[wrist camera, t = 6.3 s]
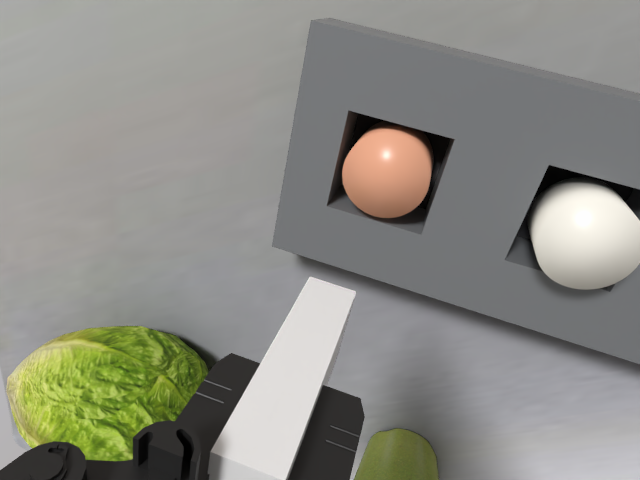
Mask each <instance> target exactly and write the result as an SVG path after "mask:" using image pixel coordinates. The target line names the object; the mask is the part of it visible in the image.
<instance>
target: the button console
mask: <svg viewBox="0 0 640 480" xmlns="http://www.w3.org/2000/svg"><path fill="white" fill-rule="evenodd" d="M358 113H360V114H363V115H367V116H371V117H374V118H378V119H382V120H385V121H389V122H393V123H397V124H400V125H404V126H408V127H411V128H415V129H419V130H422V131H426V132H430V133H433V134H437V135H441V136H444V137H448V138H450V141H449V144H448V147H447V150H446V153H445V156H444V159H443V161H442V164H441V167H440V170H439V173H438V176H437V179H436V182H435V185H434V187H433V190H432V193H431V196H430V199H429V202H428V205H427V208H426V210H425V209H422V208H419V207H416V208H415V209H414V210H412V211H411V212H409V213H407V214H405V215H402V216H399V217H395V218H380V217H375V216H372V215H369V214H367V213H365V212H364V211H362V210H361V209H359V208H358V207H357V206H356V205H355V204H354V203H353V202H352V201H351V200H350V198H349V197H348V195H347V193H346V191H345V188H344V185H341V183H342V170H343V165H344V162H345V159H346V157H347V155H348V153H349V150H350V145H351V141H352V137H353V133H354V129H355V125H356V120H357V116H358ZM549 165H551V166H555V167H559V168H562V169H566V170H570V171H573V172H577V173H581V174H585V175H588V176H592V177H596V178H599V179H603V180H607V181H610V182H614V183H618V184H621V185H625V186H629V187H632V188H634V189H633V191H632V193H631V195H630V196H629V198H628V200H627V202H626V204H627V206H628V207H629V208H630V209H631V210H632V212H633V213H634V214H635V215H636V217H637V218H638V219H639V220H640V94H638V93H634V92H630V91H626V90H622V89H618V88H614V87H610V86H605V85H601V84H597V83H593V82H589V81H585V80H581V79H577V78H573V77H569V76H564V75H560V74H556V73H552V72H548V71H544V70H540V69H536V68H532V67H528V66H524V65H519V64H515V63H511V62H507V61H503V60H499V59H495V58H491V57H487V56H483V55H478V54H474V53H470V52H466V51H462V50H458V49H454V48H450V47H446V46H442V45H437V44H433V43H429V42H425V41H421V40H417V39H413V38H409V37H405V36H401V35H397V34H392V33H388V32H384V31H380V30H376V29H372V28H368V27H364V26H360V25H356V24H351V23H347V22H343V21H339V20H335V19H331V18H327V19H318V20H311V23H310V29H309V35H308V41H307V46H306V52H305V58H304V64H303V69H302V75H301V81H300V87H299V93H298V98H297V104H296V110H295V116H294V122H293V127H292V133H291V139H290V145H289V151H288V156H287V162H286V168H285V174H284V180H283V185H282V191H281V197H280V203H279V209H278V214H277V220H276V226H275V232H274V237H273V243H272V246H273V247H276V248H279V249H282V250H285V251H288V252H291V253H294V254H298V255H301V256H304V257H307V258H310V259H313V260H316V261H319V262H323V263H326V264H329V265H332V266H335V267H338V268H341V269H344V270H347V271H351V272H354V273H357V274H360V275H363V276H366V277H369V278H372V279H375V280H379V281H382V282H385V283H388V284H391V285H394V286H397V287H400V288H403V289H407V290H410V291H413V292H416V293H419V294H422V295H425V296H428V297H432V298H435V299H438V300H441V301H444V302H447V303H450V304H453V305H456V306H460V307H463V308H466V309H469V310H472V311H475V312H478V313H481V314H484V315H488V316H491V317H494V318H497V319H500V320H503V321H506V322H509V323H512V324H516V325H519V326H522V327H525V328H528V329H531V330H534V331H537V332H541V333H544V334H547V335H550V336H553V337H556V338H559V339H562V340H565V341H569V342H572V343H575V344H578V345H581V346H584V347H587V348H590V349H593V350H597V351H600V352H603V353H606V354H609V355H612V356H615V357H618V358H621V359H625V360H628V361H631V362H634V363H637V364H640V264H639V265H638V266H637V268H636V269H635V270H634V271H633V272H632V273H631V274H629V275H628V276H627V277H625V278H624V279H622V280H621V281H619V282H617V283H615V284H612V285H610V286H607V287H603V288H598V289H589V290H584V289H574V288H570V287H566V286H563V285H561V284H559V283H557V282H555V281H553V280H552V279H550V278H549V277H548V276H547V275H546V274H545V273H544V272H543V270H542V269H541V267H540V266H539V263H538V261H537V258H536V254H535V251H534V247H533V244H532V241H530V240H527V239H524V238H520V237H517V236H516V234H517V232H518V230H519V228H520V226H521V224H522V221H523V219H524V217H525V215H526V213H527V211H528V209H529V206H530V204H531V202H532V200H533V198H534V196H535V194H536V191H537V189H538V187H539V185H540V183H541V181H542V179H543V176H544V174H545V172H546V170H547V168H548V166H549Z"/></svg>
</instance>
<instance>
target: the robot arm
mask: <svg viewBox="0 0 640 480" xmlns="http://www.w3.org/2000/svg"><path fill="white" fill-rule="evenodd" d="M355 295H356V291H353V290H350V289H346V288H343V287H340V286H337V285H334V284H331V283H328V282H325V281H322V280H319V279H316V278H313V277H309V279H308V281H307V282H306V284H305V286H304V288H303V289H302V291H301V293H300V295H299V296H298V298H297V300H296V302H295V303H294V305H293V307H292V309H291V311H290V312H289V314H288V316H287V318H286V319H285V321H284V323H283V325H282V326H281V328H280V330H279V332H278V333H277V335H276V337H275V339H274V340H273V342H272V344H271V346H270V348H269V349H268V351H267V353H266V355H265V356H264V358H263V360H262V362H261V363H257V362H255V361H252V360H249V359H246V358H244V357H241V356H238V355H235V354H233V353H231V354H229V355H228V356H226V357H224V358H223V359H221V360H220V361H218V362H217V363H215V364H214V366H213V367H212V369H211V370H210V372H209V373H208V374H207V376H206V377H205V379H204V381H203V382H202V383H201V384H200V386H199V387H198V389H197V390H196V393H195V394H194V395H193V396H192V397H191V399H190V400H189V402H188V403H187V405H186V406H185V408H184V409H183V410H182V412H181V413H180V415H179V416H178V418H177V419H176V421H171V420H168V421H161V422H155V423H153V424H151V425H149V426H146V427H144V428H143V429H142V430H140V431H139V432H138V433H137V434H136V435H135V436H134V437H133V459H131V460H127V461H102V460H86V459H85V455H84V454H83V452H82V451H81V450H80V448H79V447H77V446H75V445H73V444H71V443H69V442H57V441H53V442H49V443H45V444H41V445H38V446H36V447H34V448H32V449H31V450H29V451H27V452H25V453H24V454H22V455H21V456H19V457H18V458H17V459H15V460H14V461H13V462H12V463H10V464H8V465H7V466H6V467H4V468H3V469H2V470H0V480H349V479H350V475H351V471H352V467H353V463H354V459H355V454H356V450H357V446H358V442H359V437H360V434H361V430H362V425H363V421H364V412H363V408H362V403H361V399H360V398H358V397H355V396H352V395H349V394H347V393H344V392H341V391H338V390H336V389H333V388H330V387H327V384H328V381H329V378H330V376H331V373H332V370H333V367H334V365H335V362H336V359H337V356H338V353H339V349H340V346H341V342H342V339H343V335H344V332H345V329H346V325H347V322H348V318H349V315H350V312H351V308H352V305H353V301H354V298H355Z"/></svg>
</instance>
